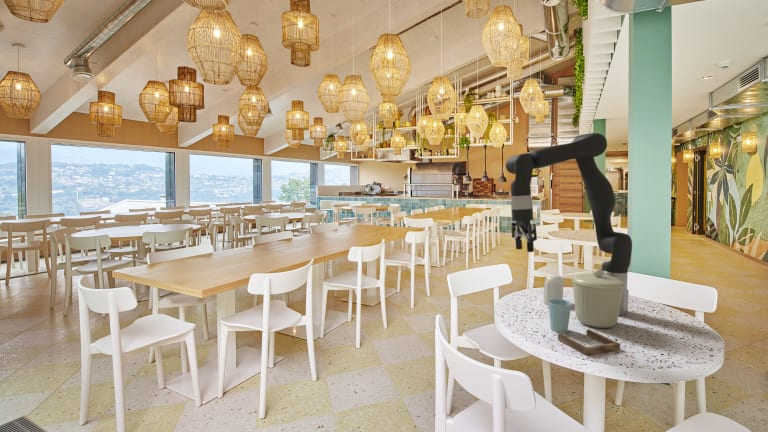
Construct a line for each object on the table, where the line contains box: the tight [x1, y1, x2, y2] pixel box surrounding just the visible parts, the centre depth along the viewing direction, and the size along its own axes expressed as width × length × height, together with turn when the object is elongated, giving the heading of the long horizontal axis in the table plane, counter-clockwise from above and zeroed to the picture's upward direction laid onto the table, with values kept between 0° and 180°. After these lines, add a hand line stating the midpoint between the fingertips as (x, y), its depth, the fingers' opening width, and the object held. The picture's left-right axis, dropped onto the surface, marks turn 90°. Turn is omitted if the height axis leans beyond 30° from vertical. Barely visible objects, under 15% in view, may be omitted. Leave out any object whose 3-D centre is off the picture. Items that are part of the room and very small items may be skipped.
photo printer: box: [543, 274, 564, 306], centre depth 165 cm, size 10×4×12 cm, turn 123°
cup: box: [548, 299, 573, 334], centre depth 135 cm, size 8×8×10 cm
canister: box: [570, 268, 626, 329], centre depth 140 cm, size 18×18×21 cm
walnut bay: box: [557, 329, 621, 356], centre depth 122 cm, size 13×12×2 cm
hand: (524, 250), depth 139 cm, fingers open, 8 cm apart
